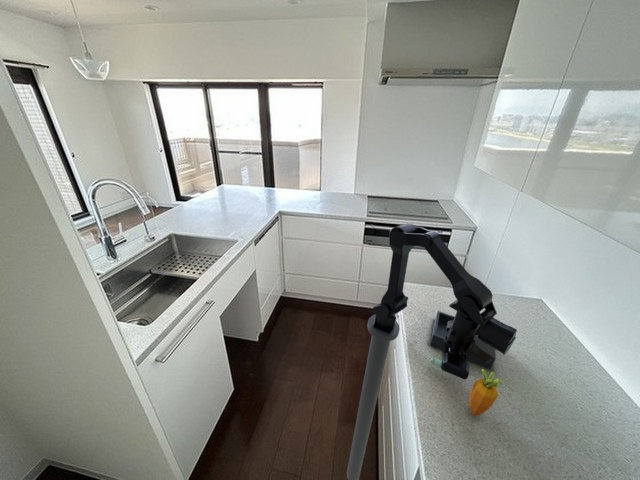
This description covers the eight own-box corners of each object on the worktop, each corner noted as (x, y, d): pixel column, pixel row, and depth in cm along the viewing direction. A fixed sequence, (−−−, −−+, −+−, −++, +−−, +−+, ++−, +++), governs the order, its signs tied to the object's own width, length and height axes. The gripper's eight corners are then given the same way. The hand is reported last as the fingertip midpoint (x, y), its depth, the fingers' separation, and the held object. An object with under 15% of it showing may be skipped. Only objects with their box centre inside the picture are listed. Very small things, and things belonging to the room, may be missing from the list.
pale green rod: (429, 364, 77) (431, 359, 76) (430, 359, 78) (432, 355, 78) (466, 380, 73) (468, 375, 72) (466, 374, 74) (468, 370, 73)
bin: (429, 345, 85) (433, 334, 83) (434, 320, 96) (437, 310, 94) (490, 369, 78) (495, 358, 76) (488, 339, 89) (493, 329, 87)
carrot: (458, 405, 67) (475, 366, 61) (475, 404, 68) (495, 365, 61) (469, 425, 63) (490, 385, 56) (488, 424, 63) (510, 384, 57)
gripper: (502, 367, 58) (480, 409, 64) (496, 317, 73) (479, 356, 79) (448, 346, 62) (433, 387, 69) (453, 303, 77) (440, 341, 84)
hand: (448, 367), depth 75 cm, fingers closed on pale green rod, 2 cm apart
